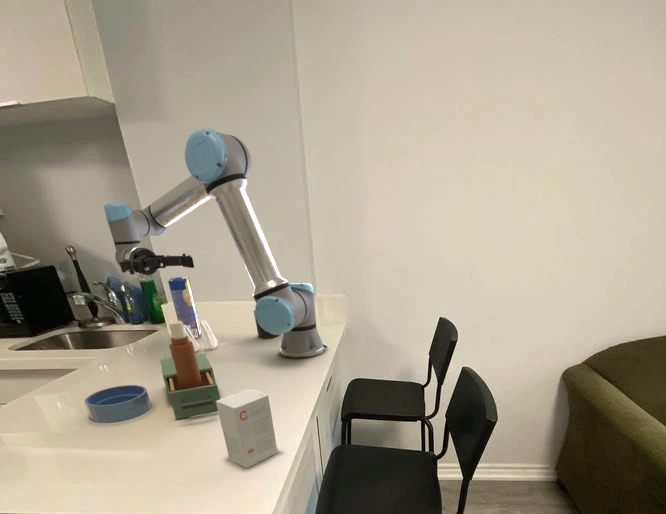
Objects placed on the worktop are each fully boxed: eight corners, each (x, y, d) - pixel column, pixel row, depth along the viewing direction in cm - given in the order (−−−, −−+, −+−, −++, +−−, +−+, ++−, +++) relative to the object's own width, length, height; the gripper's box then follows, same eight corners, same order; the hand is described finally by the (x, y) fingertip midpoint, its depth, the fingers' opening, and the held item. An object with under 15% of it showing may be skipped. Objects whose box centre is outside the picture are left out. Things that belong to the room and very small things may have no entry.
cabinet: (218, 397, 118) (212, 367, 114) (171, 405, 114) (162, 375, 110) (211, 380, 130) (205, 353, 126) (168, 387, 126) (160, 359, 122)
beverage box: (200, 330, 187) (188, 276, 176) (199, 336, 178) (186, 280, 167) (184, 332, 186) (171, 277, 174) (182, 338, 176) (168, 281, 165)
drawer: (225, 416, 105) (219, 390, 101) (177, 426, 101) (169, 399, 97) (214, 392, 119) (209, 368, 116) (172, 399, 115) (165, 375, 112)
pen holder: (270, 339, 170) (266, 313, 165) (252, 337, 174) (248, 311, 169) (285, 334, 177) (282, 308, 171) (268, 332, 181) (264, 307, 176)
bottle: (209, 397, 113) (191, 319, 103) (200, 405, 108) (180, 325, 98) (190, 397, 114) (170, 319, 103) (180, 405, 109) (158, 325, 99)
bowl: (162, 402, 116) (157, 385, 114) (131, 425, 104) (124, 406, 102) (114, 401, 118) (108, 384, 116) (79, 424, 106) (71, 405, 103)
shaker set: (218, 346, 164) (212, 316, 158) (219, 349, 160) (213, 319, 154) (185, 351, 160) (178, 320, 154) (186, 353, 157) (178, 323, 151)
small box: (259, 444, 93) (249, 387, 86) (278, 452, 89) (269, 394, 83) (228, 459, 88) (214, 400, 81) (247, 469, 84) (234, 408, 78)
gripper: (184, 270, 140) (213, 274, 126) (102, 279, 126) (125, 285, 112) (178, 244, 136) (207, 246, 123) (93, 251, 122) (115, 254, 108)
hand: (168, 265), depth 117 cm, fingers open, 13 cm apart
